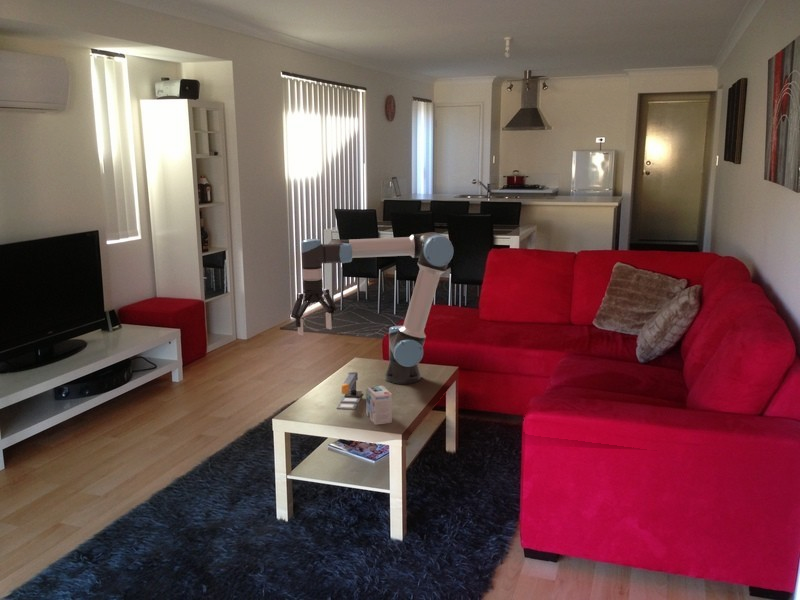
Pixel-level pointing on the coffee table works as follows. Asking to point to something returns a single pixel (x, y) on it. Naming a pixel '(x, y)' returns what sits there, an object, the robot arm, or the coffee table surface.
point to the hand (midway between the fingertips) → (315, 331)
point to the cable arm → (349, 382)
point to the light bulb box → (379, 405)
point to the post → (353, 392)
